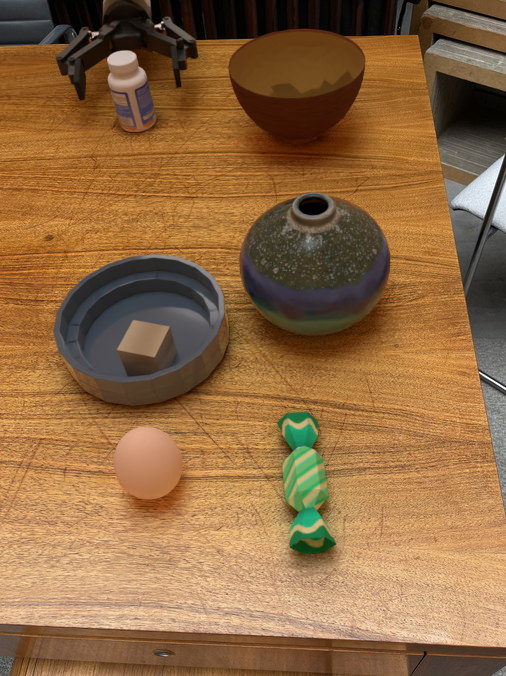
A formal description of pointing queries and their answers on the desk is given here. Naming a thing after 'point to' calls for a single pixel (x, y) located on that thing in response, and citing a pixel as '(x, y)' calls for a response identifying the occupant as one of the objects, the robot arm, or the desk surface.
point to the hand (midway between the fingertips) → (128, 84)
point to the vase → (314, 264)
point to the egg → (147, 463)
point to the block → (147, 348)
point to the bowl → (297, 81)
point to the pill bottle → (130, 92)
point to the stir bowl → (147, 306)
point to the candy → (305, 484)
